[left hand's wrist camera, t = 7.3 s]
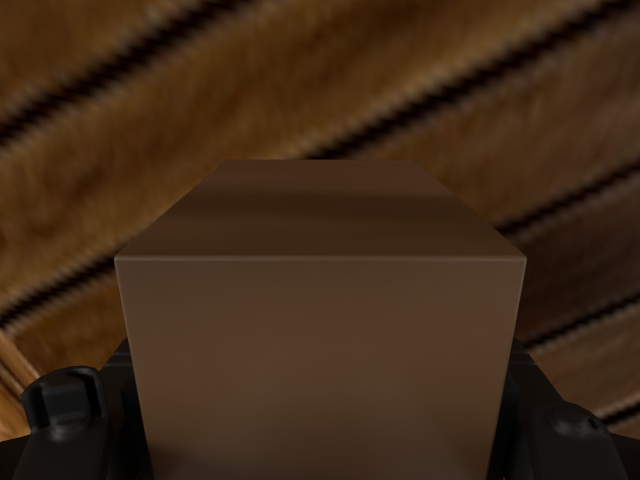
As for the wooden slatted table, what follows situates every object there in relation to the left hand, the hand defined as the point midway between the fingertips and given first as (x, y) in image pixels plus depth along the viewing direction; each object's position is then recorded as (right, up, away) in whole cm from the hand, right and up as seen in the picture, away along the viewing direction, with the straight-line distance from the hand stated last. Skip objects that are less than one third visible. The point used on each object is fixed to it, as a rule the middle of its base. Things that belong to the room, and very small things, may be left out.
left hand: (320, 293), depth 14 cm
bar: (0, -7, +3) cm, 8 cm away
